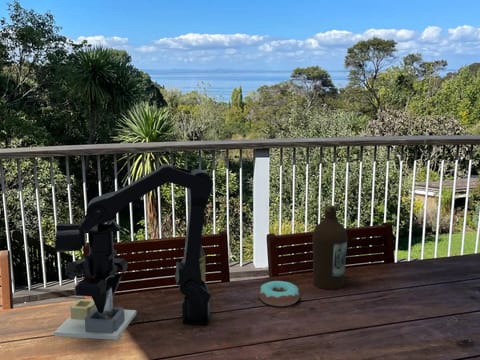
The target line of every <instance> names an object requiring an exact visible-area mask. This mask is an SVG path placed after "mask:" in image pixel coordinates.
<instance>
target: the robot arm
mask: <svg viewBox="0 0 480 360" xmlns="http://www.w3.org/2000/svg"><path fill="white" fill-rule="evenodd" d="M167 183H170V184H173V185H177V186H179V187H182V188H185V189H186V190H187V198H188V214H187V225H186V233H185V245H184V253H183V258H182V260H181V262H180V261H176V262H175V264H176V265H175V266H176V271H175V274H174V279H175V282H176V285H177V286H178V288H179V292H180V293H181V294H182V295H183V296H185V297H184V299H183V301H182V303H181V306H182V311H181V312H182V313H181V314H182V318H183V319H182V324H186V325H188V324H190V325H205V326H206V325H208V324H209V321H210V319H211V316H212V311H211V293H210V291H209V288H208V285H207V283H206V281H205V282H204V281H203V280H202V279H201V269H200V262H199V259H200V250H201V244H202V239H203V228H204V219H205V211H206V206H207V204H208V202H209V199H210V197H211V193H212V190H213V186H214V184H213V183H214V182H213V179H212V177H211V176H210V175H209V173H208V172H206V171H205V170H203V169H201V168H200V169H199V168H195V169H193V170H191V169H186V168H183V167H178V166H172V165H170V164H168V163H164V164H162V165H160V166H159V167H158V168H156V169H155V170H153V171H151V172H149V173H148V174H147V173H146V175H144V176H142V177H140V178H139V179H137V180H135V181H133V182H131V183H129V184H128V185H126V186H124V187H122V188H120V189H117V190H115V191H111V192H106V193H104V194H101V195H99V196H95V197H94V198H92V199H91V200H90V201H89V202H88V205H87V208H86V211H85V213H86V214H85V215H84V217H82V218H81V219H80V222H76V223H63V222H62V223H60V222H59V223H57V224H56V226H55V240H54V245H55V246H54V248H55V252H56V253H67V252H81V251H83V249H84V247H87V234H88V250H89V253H87V254H86V255H85V257H83V258H80V259H77V260H73V261H72V262H68V263H66V264H65V269H64V270H65V272H64V273H65V275H66V276H67V277H68V278H70V279H71V280H72V279H75V278H76V277H79V276H83V275H84V274H85V275H84V276H85V277H84V278H83V279H82V280H80V281H79V282H78V283H77V284H76V285H75V286H74V295H75V296H77V297H91V298H92V299H91V300H93V301H94V303H95V305H96V308H97V310H98V312H99V313H103V311H104V308H105V305H106V301H107V298H108V294H109V291H110V287H106V285H109V286H111V287H112V300H113V299H114V297H115V293H116V291H117V289H118V286H119V284H120V282H121V280H122V277H123V273H125V272H126V271H127V270H128V268H129V267H128V261H127V260H126V259H125V258H119V257H118V258H116V257H115V256H117V251H118V250H116V249H114V234H113V233H114V232H120V231H121V225H120V224H118V223H117V222H116V220H114V219H112V218H114V217H115V216H116V215H118V213H120V212H121V211H122V210H123V208H125V207H126V206H127V205H129V204H130V203H133V202H134V201H136V200H138V199H140V198H142V197H143V196H145V195H147V194H149V193H150V192H152V191H154V190H156V189H158V188H159V187H161V186H163V185H164V184H167ZM110 220H111V221H110ZM109 221H110V222H109ZM119 269H120V271H121V273H122V274H121V273H118V270H119ZM87 277H88V278H87ZM89 277H90V278H89ZM91 277H92V278H91Z"/></svg>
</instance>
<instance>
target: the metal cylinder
mask: <svg viewBox="0 0 480 360" xmlns="http://www.w3.org/2000/svg"><path fill="white" fill-rule="evenodd" d="M106 287H110V291H109V294H108V298H107V301H106V305H105V308H104V311H103V313H99V312H98V310H97V308H96V313H97V319H108V320H111V319H112V318H113V307H114V304H113V302H114V300H113V299H112V287H111V286H109V285H106Z"/></svg>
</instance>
